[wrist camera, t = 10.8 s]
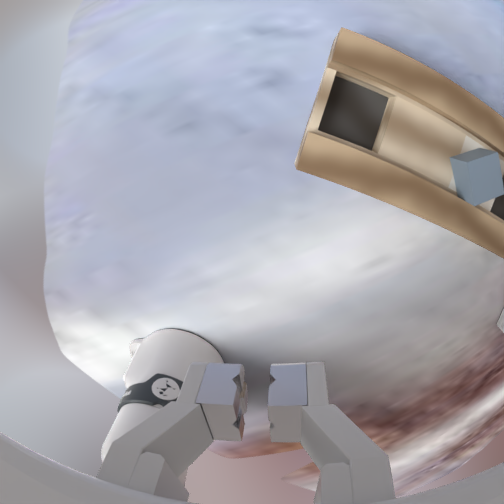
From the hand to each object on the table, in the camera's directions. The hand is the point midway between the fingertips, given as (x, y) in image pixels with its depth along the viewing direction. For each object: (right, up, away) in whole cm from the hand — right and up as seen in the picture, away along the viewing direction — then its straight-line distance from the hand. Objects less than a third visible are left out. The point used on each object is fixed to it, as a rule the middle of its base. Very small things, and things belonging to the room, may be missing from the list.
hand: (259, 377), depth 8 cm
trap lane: (+23, +16, +22) cm, 36 cm away
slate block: (+26, +13, +20) cm, 35 cm away
